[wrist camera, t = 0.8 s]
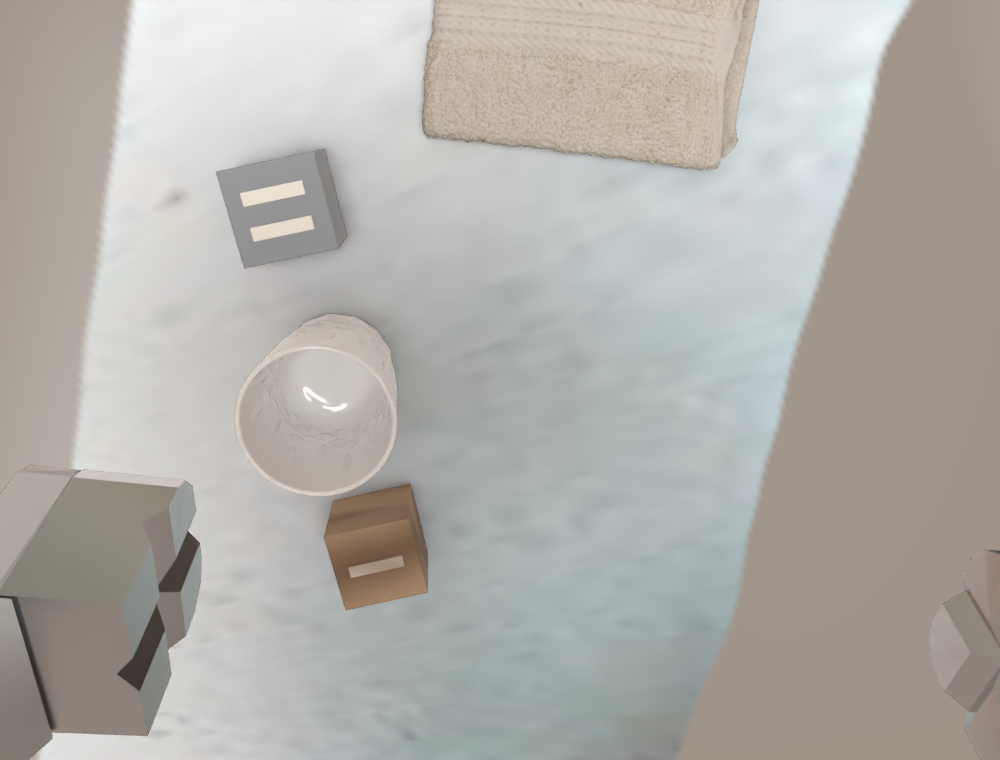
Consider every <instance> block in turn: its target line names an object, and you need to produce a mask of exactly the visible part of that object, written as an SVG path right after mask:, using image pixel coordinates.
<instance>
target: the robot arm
mask: <svg viewBox="0 0 1000 760" xmlns="http://www.w3.org/2000/svg"><path fill="white" fill-rule="evenodd" d="M195 512H196V506H195V499H194V493H193V486H192V485H191V484H190V483H188V482H187V481H185V480H176V479H167V478H158V477H149V476H140V475H130V474H121V473H112V472H103V471H94V470H85V469H84V470H82V471H81V470H74V469H65V468H56V467H48V466H39V465H29V466H27V467H25V468H23V469H22V470H20V471H18V472H17V473H16V474H14V476H13V477H12V478H11V480H10V481H9V482H8V484H7V485H6V487H5V488H4V489H3V491H2V492H1V493H0V760H29V759H30V758H31V757H33V756H34V755H35V754H36V753H37V752H38V751H39V750H40V749H41V748H42V747H44V746H45V745H46V744H47V743H48V742H49V741H50V740H51V739H52V738H53V735H52V732H55V733H82V734H109V735H136V736H148V734H149V732H150V729H151V726H152V724H153V721H154V719H155V716H156V713H157V711H158V708H159V705H160V703H161V700H162V698H163V695H164V692H165V690H166V687H167V685H168V682H169V679H170V677H171V668H170V661H169V654H168V649H169V648H171V647H172V646H173V645H174V644H176V643H177V642H178V641H180V640H181V639H182V638H184V637H185V636H186V634H187V631H188V629H189V626H190V623H191V620H192V617H193V615H194V612H195V607H196V602H197V597H198V592H199V588H200V583H201V551H200V543H199V542H198V541H197V540H196V539H195V538H194V537H193V536H192V535H191V534H190V533H189V532H188V529H189V527H190V524H191V522H192V520H193V517H194V515H195ZM960 575H961V579H962V582H963V585H964V588H965V590H964V591H963V592H961V593H960V594H958V595H956V596H954V597H953V598H951V599H950V600H948V601H946V602H944V603H943V604H942V606H941V607H940V609H939V611H938V613H937V615H936V616H935V618H934V620H933V622H932V624H931V628H930V643H929V644H930V645H929V652H930V655H931V660H932V664H933V669H934V671H935V673H936V675H937V677H938V679H939V681H940V683H941V685H942V688H943V690H944V691H945V692H946V693H947V694H948V695H950V696H951V697H952V698H953V699H954V700H955V701H956V702H958V703H959V704H960V705H961V706H963V707H964V708H965V709H966V710H967V711H968V715H967V719H966V724H965V728H964V730H965V732H966V734H967V736H968V738H969V740H970V742H971V743H972V745H973V747H974V749H975V751H976V753H977V755H978V757H979V759H980V760H1000V551H996V550H983V551H982V552H980V553H979V554H977V555H975V556H974V557H972V558H971V559H970V561H969V562H968V564H967V565H966V567H965V568H964V570H963V571H962V573H961V574H960Z"/></svg>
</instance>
